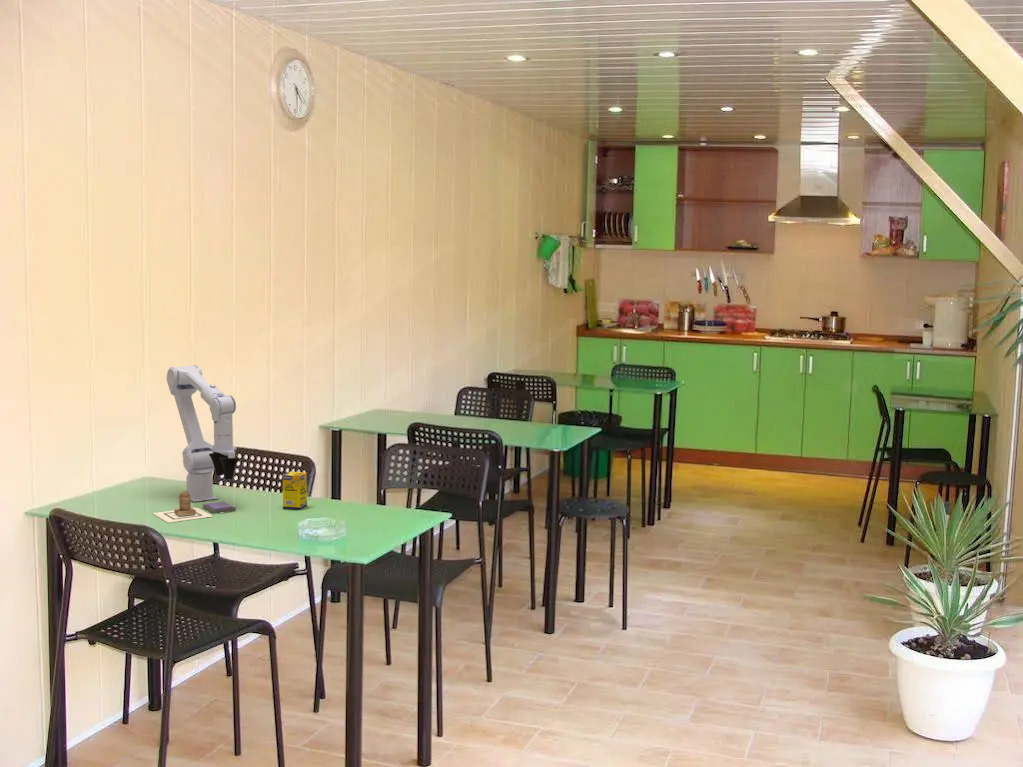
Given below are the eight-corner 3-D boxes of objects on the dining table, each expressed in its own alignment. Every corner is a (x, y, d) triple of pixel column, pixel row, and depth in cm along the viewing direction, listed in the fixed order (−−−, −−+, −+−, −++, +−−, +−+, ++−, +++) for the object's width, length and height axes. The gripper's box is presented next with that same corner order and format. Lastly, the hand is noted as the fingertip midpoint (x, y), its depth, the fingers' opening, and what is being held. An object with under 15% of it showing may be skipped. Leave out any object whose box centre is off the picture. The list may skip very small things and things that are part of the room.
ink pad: (203, 508, 357) (203, 503, 357) (224, 505, 361) (224, 500, 361) (213, 514, 350) (213, 509, 350) (235, 511, 354) (235, 506, 354)
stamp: (174, 513, 349) (173, 491, 348) (190, 511, 352) (190, 489, 351) (179, 517, 345) (178, 494, 344) (195, 515, 347) (195, 492, 347)
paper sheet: (152, 513, 349) (152, 512, 349) (196, 508, 357) (196, 507, 357) (167, 523, 338) (167, 522, 338) (213, 516, 346) (213, 515, 346)
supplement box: (300, 510, 356) (300, 475, 355) (282, 509, 357) (282, 474, 356) (307, 506, 362) (307, 472, 361) (289, 505, 363) (289, 471, 362)
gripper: (244, 436, 354) (245, 479, 355) (227, 430, 366) (227, 471, 367) (222, 438, 350) (223, 482, 351) (205, 432, 362) (206, 474, 363)
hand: (224, 477), depth 359 cm, fingers open, 7 cm apart
